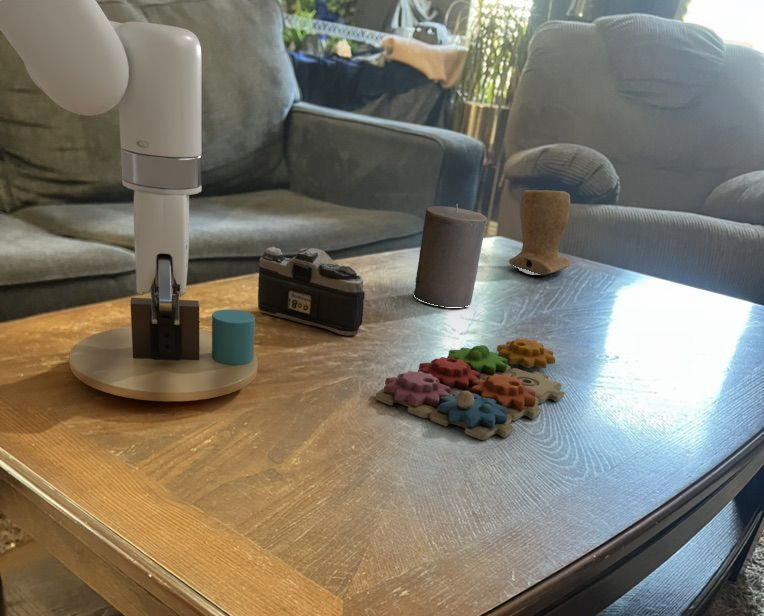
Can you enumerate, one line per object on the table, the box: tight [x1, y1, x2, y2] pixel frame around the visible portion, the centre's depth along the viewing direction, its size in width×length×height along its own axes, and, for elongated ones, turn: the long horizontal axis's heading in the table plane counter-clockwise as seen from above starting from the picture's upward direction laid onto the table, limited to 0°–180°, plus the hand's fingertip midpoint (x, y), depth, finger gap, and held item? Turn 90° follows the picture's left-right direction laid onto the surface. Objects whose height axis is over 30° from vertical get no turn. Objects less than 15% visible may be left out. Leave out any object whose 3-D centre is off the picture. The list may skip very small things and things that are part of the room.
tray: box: [68, 297, 259, 402], centre depth 84 cm, size 20×20×7 cm
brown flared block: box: [508, 189, 572, 276], centre depth 150 cm, size 15×12×15 cm
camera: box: [257, 245, 366, 337], centre depth 109 cm, size 16×10×10 cm, turn 65°
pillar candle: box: [413, 203, 488, 307], centre depth 123 cm, size 10×10×15 cm
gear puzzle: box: [374, 337, 565, 441], centre depth 96 cm, size 31×16×4 cm, turn 146°
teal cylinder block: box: [211, 309, 256, 365], centre depth 86 cm, size 5×5×5 cm
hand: (166, 347), depth 85 cm, fingers open, 5 cm apart
